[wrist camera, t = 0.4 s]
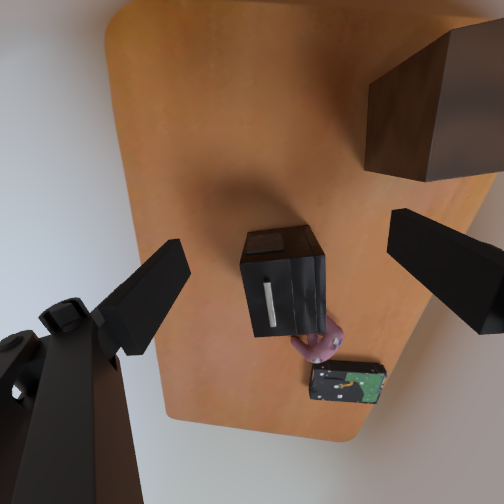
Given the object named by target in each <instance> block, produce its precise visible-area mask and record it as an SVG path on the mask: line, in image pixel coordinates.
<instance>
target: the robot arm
mask: <svg viewBox="0 0 504 504" xmlns="http://www.w3.org/2000/svg"><path fill="white" fill-rule="evenodd" d="M387 253H388V254H389V255H390V256H391V257H393V258H394V259H395V260H396V261H397V262H398V263H399V264H400V265H402V266H403V267H404V268H405V269H406V270H407V271H408V272H409V273H411V274H412V275H413V276H414V277H415V278H416V279H417V280H418V281H419V282H421V283H422V284H423V285H424V286H425V287H426V288H427V289H428V290H430V291H431V292H432V293H433V294H434V295H435V296H436V297H438V298H439V299H440V300H441V301H442V302H443V303H444V304H445V305H446V306H448V307H449V308H450V309H451V310H452V311H453V312H454V313H455V314H456V315H458V316H459V317H460V318H461V319H462V320H463V321H464V322H465V323H467V324H468V325H469V326H470V327H471V328H472V329H473V330H474V331H476V332H477V333H478V334H479V335H483V334H500V333H504V251H502V249H500V248H497V247H495V246H493V245H491V244H487V243H484V242H480V241H478V240H476V239H473V238H471V237H469V236H467V235H465V234H462V233H460V232H458V231H456V230H454V229H451V228H449V227H447V226H445V225H442V224H440V223H438V222H436V221H433V220H431V219H429V218H427V217H425V216H422V215H420V214H418V213H416V212H413V211H411V210H409V209H407V208H404V209H396V210H392V213H391V221H390V229H389V237H388V245H387ZM190 275H191V272H190V269H189V266H188V263H187V260H186V257H185V254H184V251H183V248H182V245H181V242H180V239H171V240H168V241H167V242H166V243H165V244H164V245H163V246H162V247H160V248H159V249H158V250H157V251H156V252H155V253H154V254H153V255H152V256H151V257H150V258H149V259H148V260H147V261H146V262H145V263H144V264H143V265H141V266H140V267H139V268H138V269H137V270H136V271H135V272H134V273H133V274H132V275H131V276H130V277H129V278H128V279H127V280H126V281H125V282H123V283H122V284H120V285H119V286H118V287H117V288H116V289H115V290H114V291H113V292H112V293H111V294H110V295H109V296H108V297H107V298H105V299H104V300H103V301H102V302H101V303H100V304H99V305H98V306H97V307H96V308H95V309H94V310H93V311H92V312H91V313H89V311H88V310H87V308H86V307H85V305H84V304H83V302H82V301H81V299H80V298H76V297H75V298H70V299H67V300H64V301H61V302H59V303H57V304H55V305H53V306H51V307H50V308H48V309H46V310H45V311H44V312H43V313H42V314H41V315H40V316H39V319H40V321H41V322H42V323H43V325H44V326H45V327H46V328H47V330H48V331H49V332H50V333H51V335H48V336H45V337H41V338H38V337H37V336H36V334H35V333H34V332H33V331H32V330H25V331H21V332H19V333H16V334H12V335H10V336H8V337H6V338H4V339H3V340H1V342H0V504H144V502H143V496H142V490H141V484H140V478H139V472H138V467H137V461H136V455H135V449H134V444H133V437H132V431H131V426H130V420H129V414H128V408H127V402H126V396H125V390H124V384H123V378H122V373H121V367H120V361H119V358H118V357H117V355H116V353H117V351H118V350H119V348H120V347H122V348H123V350H124V352H125V353H126V355H127V356H130V355H143V354H144V352H145V350H146V348H147V347H148V345H149V344H150V342H151V340H152V338H153V337H154V335H155V334H156V332H157V330H158V328H159V327H160V325H161V323H162V322H163V320H164V318H165V317H166V315H167V313H168V312H169V310H170V308H171V307H172V305H173V303H174V302H175V300H176V298H177V297H178V295H179V293H180V292H181V290H182V288H183V287H184V285H185V283H186V282H187V280H188V278H189V277H190ZM13 385H15V386H16V387H17V388H18V389H19V390H20V391H21V392H22V393H21V394H20V396H19V398H18V399H16V398H14V397H13V396H12V388H13Z"/></svg>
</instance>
